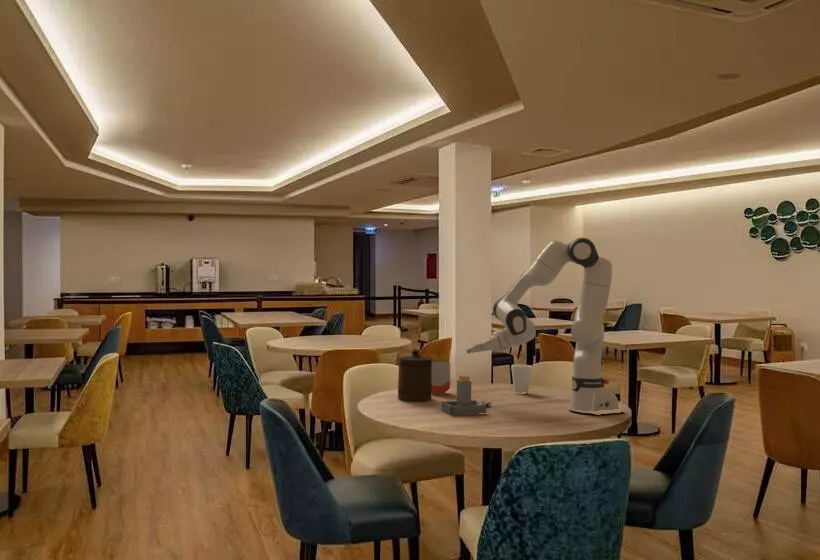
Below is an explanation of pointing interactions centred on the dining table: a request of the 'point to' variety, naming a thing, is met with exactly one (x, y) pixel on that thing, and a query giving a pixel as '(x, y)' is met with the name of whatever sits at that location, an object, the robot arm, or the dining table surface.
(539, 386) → the dining table surface
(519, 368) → the foam cup
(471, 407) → the tray
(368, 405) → the dining table surface
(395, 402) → the dining table surface
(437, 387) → the french fries container
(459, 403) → the grey corked bottle
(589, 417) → the dining table surface
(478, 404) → the clip
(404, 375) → the wooden container
